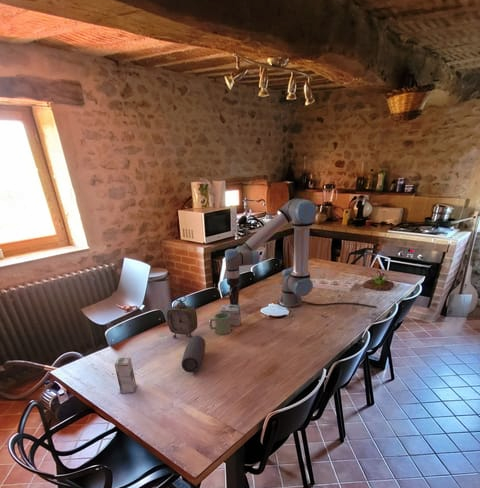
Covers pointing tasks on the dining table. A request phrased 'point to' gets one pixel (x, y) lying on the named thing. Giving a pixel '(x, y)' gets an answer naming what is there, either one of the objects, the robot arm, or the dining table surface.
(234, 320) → the light bulb box
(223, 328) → the mug
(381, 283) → the plant
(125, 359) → the syrup box
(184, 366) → the bluetooth speaker
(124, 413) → the dining table surface
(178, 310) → the tabletop clock
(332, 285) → the holder
